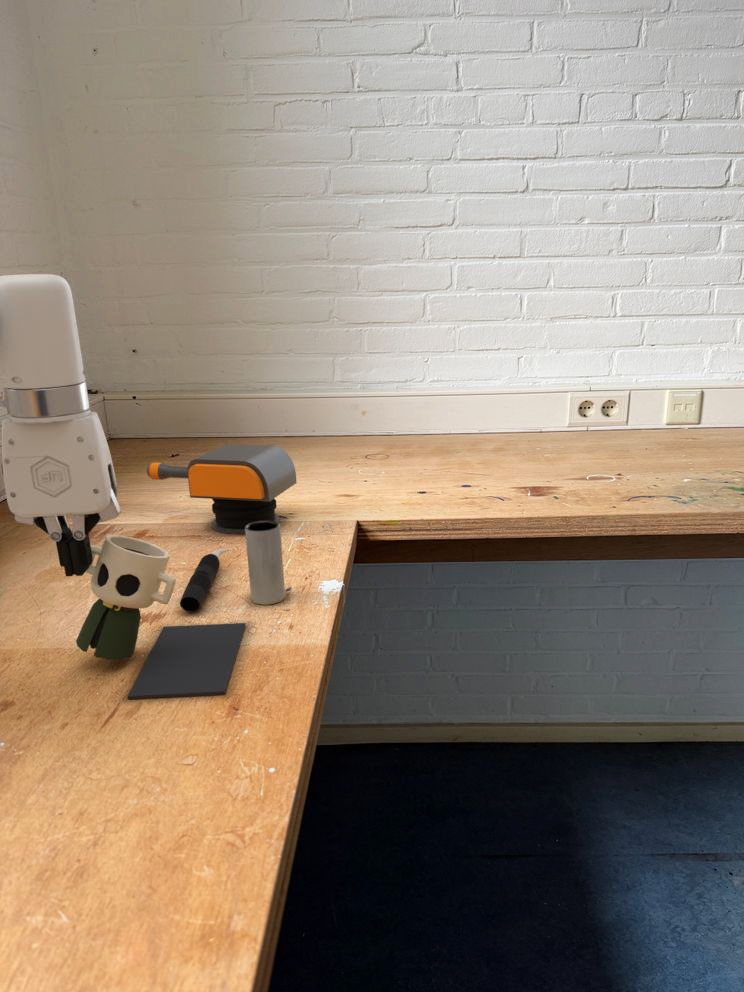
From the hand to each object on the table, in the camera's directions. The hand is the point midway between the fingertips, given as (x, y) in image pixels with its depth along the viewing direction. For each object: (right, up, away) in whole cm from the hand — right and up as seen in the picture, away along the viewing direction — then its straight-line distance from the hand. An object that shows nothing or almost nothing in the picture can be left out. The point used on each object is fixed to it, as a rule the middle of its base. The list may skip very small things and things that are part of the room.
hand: (78, 571), depth 87 cm
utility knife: (+8, -3, +26) cm, 27 cm away
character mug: (+1, -10, +3) cm, 10 cm away
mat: (+11, -10, +4) cm, 16 cm away
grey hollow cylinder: (+17, -5, +21) cm, 27 cm away
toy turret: (+3, +6, +54) cm, 54 cm away
